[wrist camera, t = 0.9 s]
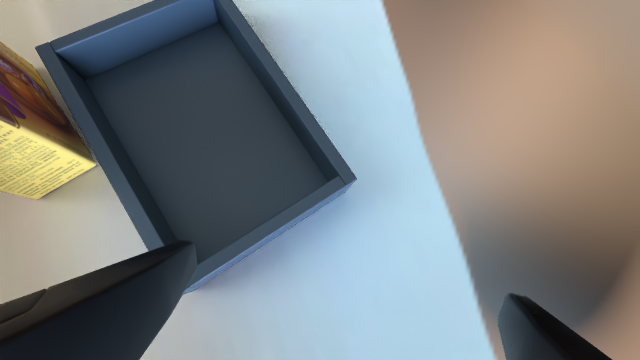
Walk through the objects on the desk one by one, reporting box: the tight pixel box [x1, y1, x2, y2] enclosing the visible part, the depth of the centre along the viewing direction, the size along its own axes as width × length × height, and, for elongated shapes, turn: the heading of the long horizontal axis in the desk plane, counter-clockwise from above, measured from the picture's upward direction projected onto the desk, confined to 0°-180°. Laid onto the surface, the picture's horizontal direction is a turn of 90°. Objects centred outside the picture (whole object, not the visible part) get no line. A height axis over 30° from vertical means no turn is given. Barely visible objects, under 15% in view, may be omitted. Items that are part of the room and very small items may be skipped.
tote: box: [35, 0, 357, 294], centre depth 20 cm, size 12×17×4 cm
